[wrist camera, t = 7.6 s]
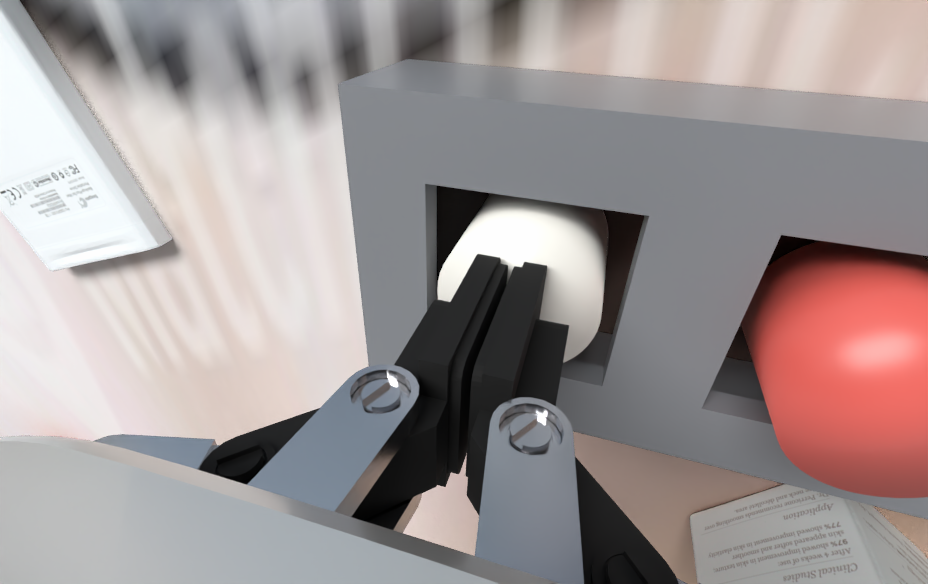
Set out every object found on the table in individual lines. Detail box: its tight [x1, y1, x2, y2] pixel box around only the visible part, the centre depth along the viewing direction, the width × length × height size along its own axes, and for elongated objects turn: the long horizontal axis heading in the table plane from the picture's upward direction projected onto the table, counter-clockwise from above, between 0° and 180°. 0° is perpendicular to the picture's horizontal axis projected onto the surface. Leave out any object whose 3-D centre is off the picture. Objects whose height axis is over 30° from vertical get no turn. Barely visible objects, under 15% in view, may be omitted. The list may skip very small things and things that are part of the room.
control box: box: [338, 59, 928, 519], centre depth 12 cm, size 24×9×4 cm, turn 88°
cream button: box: [437, 193, 609, 363], centre depth 13 cm, size 4×4×4 cm
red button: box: [741, 241, 928, 498], centre depth 10 cm, size 4×4×4 cm
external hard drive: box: [0, 0, 173, 271], centre depth 19 cm, size 2×8×12 cm
